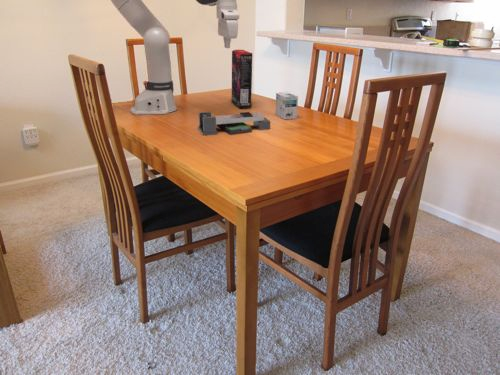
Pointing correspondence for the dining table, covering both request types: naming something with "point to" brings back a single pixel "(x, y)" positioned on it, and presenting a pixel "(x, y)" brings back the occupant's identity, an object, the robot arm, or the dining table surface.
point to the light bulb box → (286, 105)
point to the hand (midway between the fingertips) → (227, 48)
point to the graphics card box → (241, 78)
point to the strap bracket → (209, 124)
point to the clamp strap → (239, 118)
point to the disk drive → (235, 128)
